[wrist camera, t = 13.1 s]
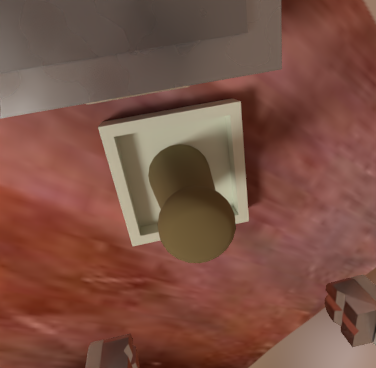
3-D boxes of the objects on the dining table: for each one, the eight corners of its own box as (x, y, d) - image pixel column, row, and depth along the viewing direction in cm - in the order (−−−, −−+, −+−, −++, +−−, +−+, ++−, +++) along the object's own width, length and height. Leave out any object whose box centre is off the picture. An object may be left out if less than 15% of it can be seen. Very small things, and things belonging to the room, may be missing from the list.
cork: (140, 194, 27) (140, 270, 17) (158, 136, 25) (169, 183, 15) (197, 207, 29) (227, 284, 19) (218, 154, 27) (264, 207, 17)
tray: (101, 121, 24) (98, 127, 22) (232, 98, 25) (240, 101, 23) (133, 233, 29) (132, 246, 27) (241, 210, 30) (248, 220, 28)
